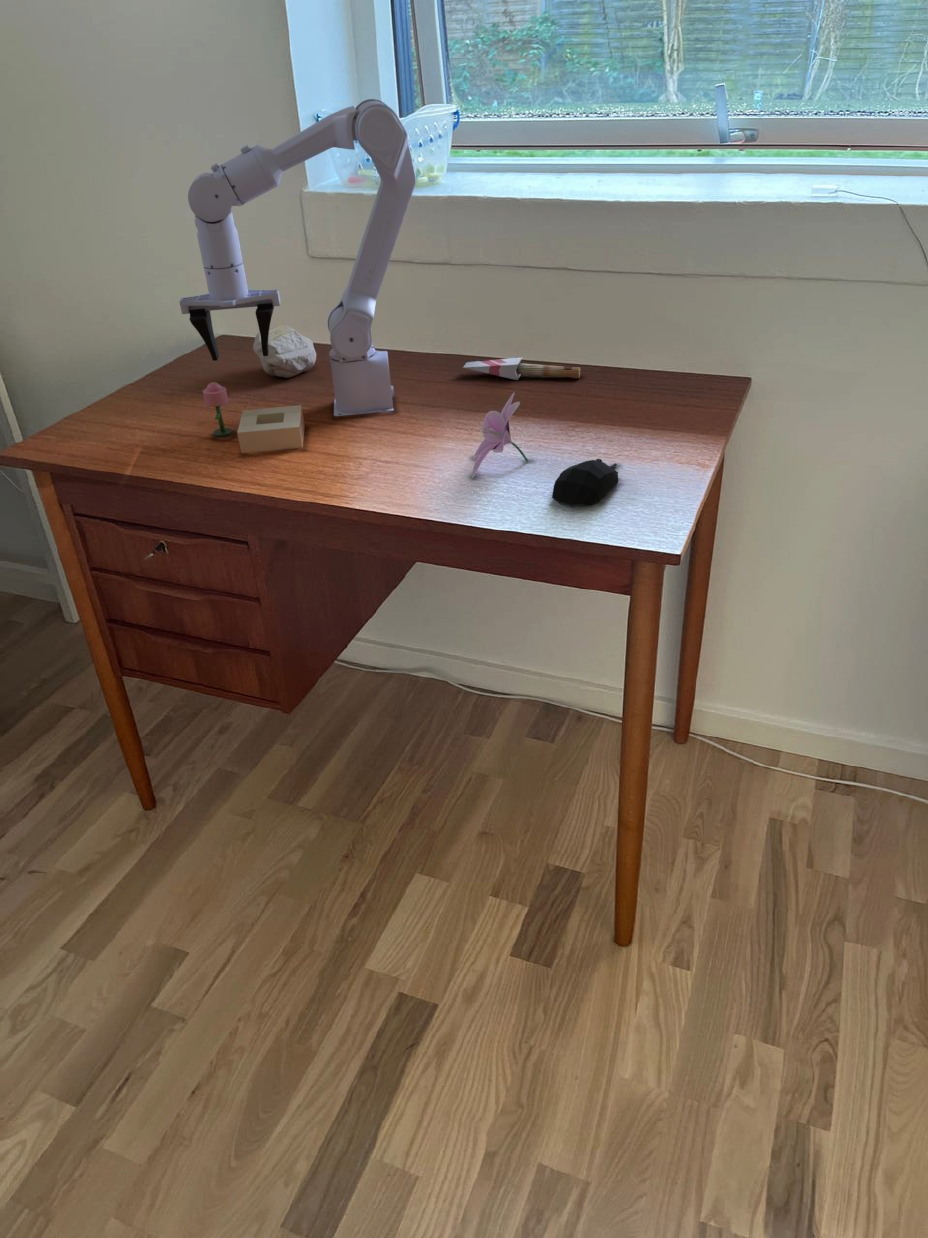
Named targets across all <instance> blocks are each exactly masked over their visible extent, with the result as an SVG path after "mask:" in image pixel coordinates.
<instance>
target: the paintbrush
mask: <svg viewBox="0 0 928 1238" xmlns="http://www.w3.org/2000/svg"><path fill="white" fill-rule="evenodd" d="M522 359H523V356H521V357H509V358H508V357H507V358H500V359H499V358H498V359H488V360H476V361H467V362H466V363H465V364H464V365H463V367H462V369H467V370H471V371H475V372H480V373H485V374H489V375H492V376H498V377H501V378H507V379H510V380H515V381H519V378H520V377H521V375H525V376H537V377H538V376H539V377H552V378H566V377H567V378H570V379H580V376H581V367H578V366H571V367H567V366H563V365H562V366H561V365H548V364H536V363H534V364H533V363H523V362H522V363H521V361H522Z"/></svg>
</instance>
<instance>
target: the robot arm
mask: <svg viewBox="0 0 928 1238" xmlns="http://www.w3.org/2000/svg"><path fill="white" fill-rule="evenodd" d="M354 141H356V142H357V143H358V145H359V146H360V147H361V148H362V150H363V151H364V152H365V153H366V154H367V155H368V156H369V158H370V159H371V162H372V164H373V166H374V168H375V170H376V172H377V174H378V176H379V179H380V181H379V186H378V188H377V191H376V194H375V198H374V201H373V204H372V207H371V210H370V214H369V217H368V220H367V223H366V226H365V229H364V232H363V235H362V238H361V241H360V245H359V248H358V251H357V254H356V257H355V260H354V264H353V267H352V268H351V269H352V270H351V273H350V275H349V278H348V282H347V285H346V286H345V288H344V290H343V291H342V294H341V297H340V300H339V302H338V304H337V305H336V306H335V307H334V308H333V309H332V310H331V311H330V313H329V315H328V317H327V318H328V319H327V328H328V332H329V335H330V336H329V341H330V345H331V347H332V348H331V349H330V350H329V351H328V356H329V362H330V363H329V364H330V370H331V371H330V372H331V378H332V385H333V392H334V400H333V416H334V417H343V416H352V415H364V414H376V413H384V412H385V413H386V412H393V411H394V401H393V398H394V397H395V391H394V390H395V389H394V385H392V381H391V373H390V364H389V353H388V351H387V350H376V348H375V345H373V344H372V343H373V334H372V325H373V321H374V319H375V314H376V313H375V311H376V307H377V305H376V304H377V299H378V296H379V294H380V290H381V288H382V286H383V285H382V284H383V281H384V278H385V275H386V273H387V270H388V267H389V265H390V261H391V259H392V255H393V252H394V249H395V246H396V244H397V240H398V237H399V234H400V230H401V228H402V226H403V223H404V220H405V216H406V213H407V211H408V209H409V208H408V207H409V204H410V202H411V198H412V196H413V193H414V189H415V187H416V181H417V176H416V172H415V171H416V170H415V166H414V160H413V157H412V152H411V147H410V143H409V135H408V132H407V129H406V127H405V126H404V124H403V122H402V121H401V119H400V117H399V115H398V114H397V113H396V111H395V110H394V109H393V108H391V107H390V106H389V105H387V104H386V103H385V102H384V101H382V100H379V99H377V98H369V99H365V100H363V101H361V102H359V104H357V105H356V106H354V105H351V106H348V107H345V108H343V109H340V110H338V111H335V112H334V113H333V112H332V113H330V114H328V115H327V116H325V117H323V118H322V119H320V120H318V121H316V122H315V123H313V124H311V125H310V126H308V127H307V128H305V129H303V130H301V131H300V132H298V133H297V134H295V135H293V136H292V137H290V138H288V139H286V140H285V141H283V142H281V143H280V144H277V145H276V146H275V147H273V148H268V147H265V146H263V145H261V144H256V145H255V146H252V147H251V146H250V144H245V145H243V146H242V147H241V148H240V154H237V155H236V156H234V157H233V158H231V159H229V160H227V161H224V162H223V163H222V164H218V162H215V163H213V164H211V165H210V169H211V172H208V171H207V172H203V173H200V174H199V175H197V176H196V177H195V178H194V179H193V181H192V182H191V185H190V187H189V189H188V192H187V200H188V205H189V208H190V210H191V212H192V213H193V214H194V224H195V227H196V229H197V232H196V237H197V242H198V247H199V251H200V257H201V261H202V266H203V271H204V275H205V281H206V287H207V290H208V293H205V294H199V295H193V296H186V297H180V299H179V301H178V302H179V307H180V311H181V314H182V315H188V314H189V318H188V319H189V322H190V325H192V326H193V327H194V329H195V330H196V332H197V333H198V334H199V336H200V337H201V338H202V340H203V342H204V343H205V345H206V347H207V350H208V351H209V354H210V356H211V359H212V362H216V361H218V360H219V358H220V355H219V349H218V345H217V342H216V337H215V334H214V328H213V322H212V321H213V320H212V313H211V311H222V310H234V309H245V308H255V317H256V321H257V325H258V326H257V327H258V330H259V331H258V332H260V336H261V345H262V352H263V356H268V353H269V350H268V337H269V329H271V328H270V326H271V322H272V317H273V313H274V309H275V307H280V306H281V303H282V301H281V295H280V290H279V289H249V288H248V287H249V286H248V282H247V276H246V272H245V271H246V270H245V265H244V260H243V255H242V249H241V243H240V239H239V238H240V237H239V233H238V229H237V227H236V225H235V220H234V215H233V210H232V208H233V207H242V206H244V205H246V204H248V203H250V202H252V201H253V200H255V199H257V198H259V197H261V196H263V195H264V194H266V193H268V192H271V191H272V190H273V189H275V188H277V187H279V186H280V183H281V180H282V175H283V172H285V171H288V170H289V169H292V168H294V167H295V166H298V165H299V164H302V163H304V162H306V161H307V160H310V159H313V158H314V157H316V156H318V155H320V154H322V153H324V152H326V151H328V150H330V149H332V148H335V149H344V150H351V151H355V150H356V147H355V142H354Z"/></svg>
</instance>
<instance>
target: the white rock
mask: <svg viewBox="0 0 928 1238" xmlns="http://www.w3.org/2000/svg"><path fill="white" fill-rule="evenodd" d="M252 349H253V352H254V354H255V355H256V356H257V357H258V359H259V361H260V364H261V365H262V369H263V371H264V372H265V373H266V374H267V375H269V376H274V377H275V376H276V377H279V378H281V377H282V378H285V379H289V378H293V377H295V376H298V375H299V374H301V373H303V372H308V371H310V370H312V369H313V367H315V364H316V361H317V352H316V350H315V346H314V342H313V341H312V339H311V338H309V337H306V336H304V335H302V334H300V332H298V331H297V330H295V329H293V328H292V326H290V325H286V324H281V325H277V326H274V327H271V328H269V337H268V350H269V353H268V356H263V352H262V345H261V336H260V331H258V333H257V334H256V335H255V336H254V342H253V344H252Z"/></svg>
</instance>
